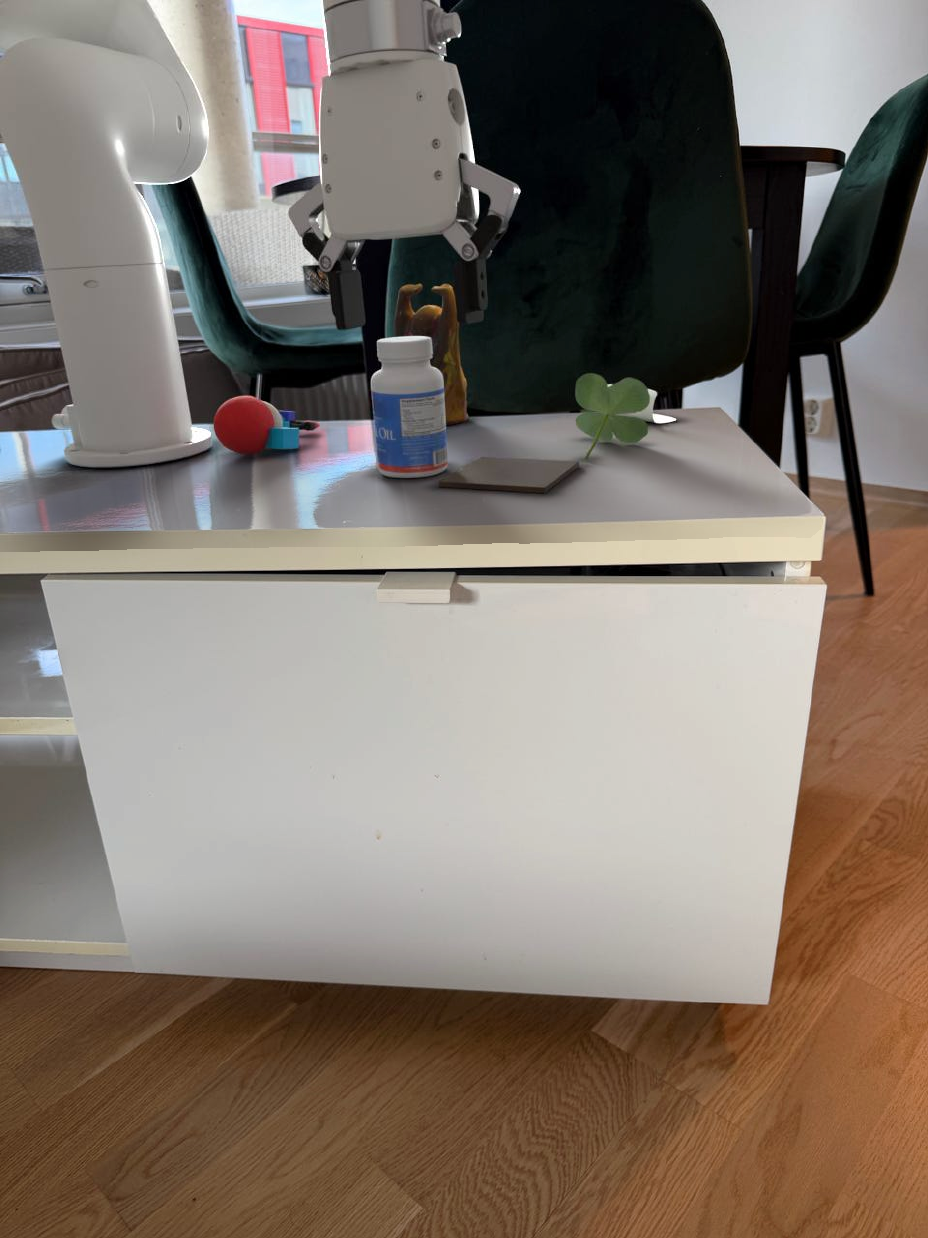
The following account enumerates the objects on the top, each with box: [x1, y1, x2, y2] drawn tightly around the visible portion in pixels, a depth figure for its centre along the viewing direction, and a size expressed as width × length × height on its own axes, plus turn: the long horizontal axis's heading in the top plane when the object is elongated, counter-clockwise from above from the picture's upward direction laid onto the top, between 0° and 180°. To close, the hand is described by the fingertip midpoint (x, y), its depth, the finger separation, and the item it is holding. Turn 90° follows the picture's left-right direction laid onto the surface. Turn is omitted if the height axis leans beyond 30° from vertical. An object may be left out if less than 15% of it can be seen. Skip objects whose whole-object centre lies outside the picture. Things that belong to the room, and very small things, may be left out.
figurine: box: [393, 283, 469, 426], centre depth 85 cm, size 6×7×13 cm
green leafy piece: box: [574, 372, 650, 461], centre depth 70 cm, size 7×8×7 cm
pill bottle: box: [370, 336, 449, 479], centre depth 66 cm, size 6×5×10 cm
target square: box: [437, 456, 580, 494], centre depth 64 cm, size 8×8×1 cm
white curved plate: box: [607, 383, 677, 424], centre depth 83 cm, size 4×8×3 cm, turn 31°
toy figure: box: [213, 395, 320, 455], centre depth 79 cm, size 8×5×15 cm
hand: (409, 325), depth 63 cm, fingers open, 9 cm apart
